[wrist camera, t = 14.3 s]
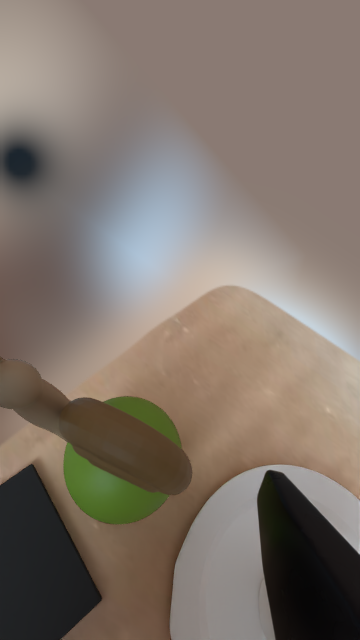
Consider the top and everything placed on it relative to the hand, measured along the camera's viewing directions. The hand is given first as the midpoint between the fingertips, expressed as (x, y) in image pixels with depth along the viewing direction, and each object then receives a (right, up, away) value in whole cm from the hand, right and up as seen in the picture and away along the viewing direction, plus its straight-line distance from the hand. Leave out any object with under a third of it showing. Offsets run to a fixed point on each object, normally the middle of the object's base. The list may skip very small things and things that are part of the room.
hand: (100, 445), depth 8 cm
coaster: (-6, -9, +6) cm, 12 cm away
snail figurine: (-1, -4, +9) cm, 10 cm away
